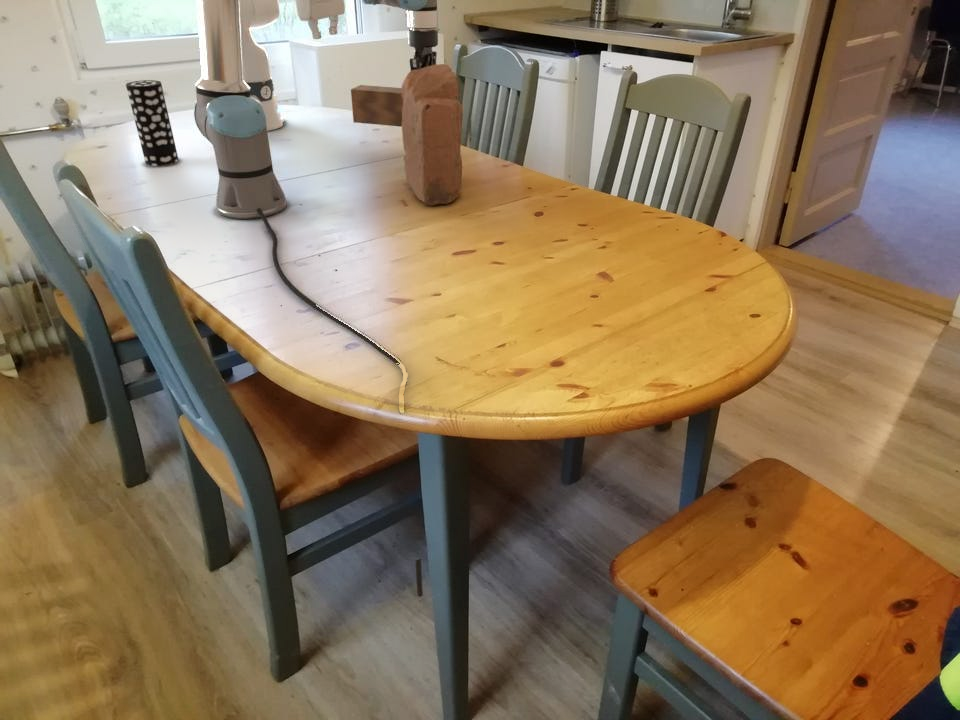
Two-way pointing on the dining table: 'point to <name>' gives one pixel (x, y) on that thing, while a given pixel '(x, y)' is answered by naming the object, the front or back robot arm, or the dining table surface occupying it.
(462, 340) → the dining table surface
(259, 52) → the back robot arm
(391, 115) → the box
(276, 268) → the front robot arm
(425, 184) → the stone
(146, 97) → the black white spotted cylinder
